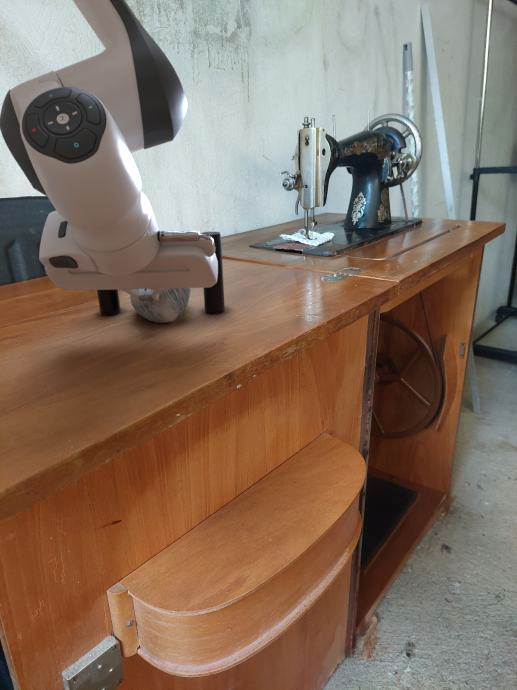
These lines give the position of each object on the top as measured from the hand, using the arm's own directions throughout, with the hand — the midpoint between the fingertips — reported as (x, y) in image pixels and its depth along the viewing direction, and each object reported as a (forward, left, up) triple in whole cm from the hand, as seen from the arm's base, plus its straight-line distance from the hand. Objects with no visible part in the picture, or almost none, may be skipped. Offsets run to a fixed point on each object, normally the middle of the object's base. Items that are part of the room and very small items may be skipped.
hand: (148, 296), depth 70 cm
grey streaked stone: (0, +7, -5) cm, 9 cm away
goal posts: (0, +8, -5) cm, 9 cm away
